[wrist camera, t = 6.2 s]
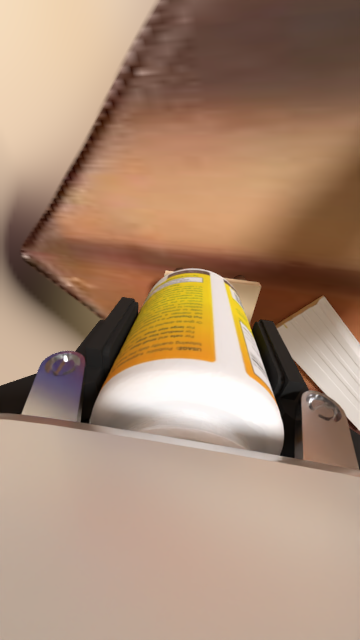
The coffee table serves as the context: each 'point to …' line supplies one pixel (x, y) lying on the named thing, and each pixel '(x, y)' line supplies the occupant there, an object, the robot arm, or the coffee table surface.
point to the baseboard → (326, 353)
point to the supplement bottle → (192, 370)
